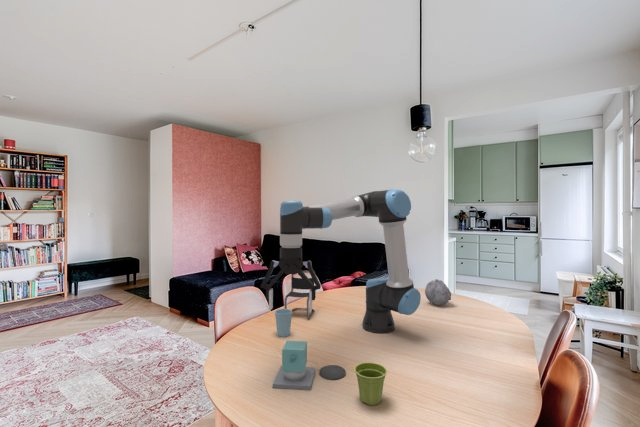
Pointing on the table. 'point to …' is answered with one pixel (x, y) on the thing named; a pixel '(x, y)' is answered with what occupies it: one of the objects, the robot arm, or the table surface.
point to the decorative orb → (437, 292)
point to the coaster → (332, 372)
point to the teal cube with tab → (294, 356)
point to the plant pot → (370, 381)
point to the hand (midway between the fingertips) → (290, 309)
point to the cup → (283, 322)
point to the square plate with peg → (295, 379)
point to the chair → (299, 284)
